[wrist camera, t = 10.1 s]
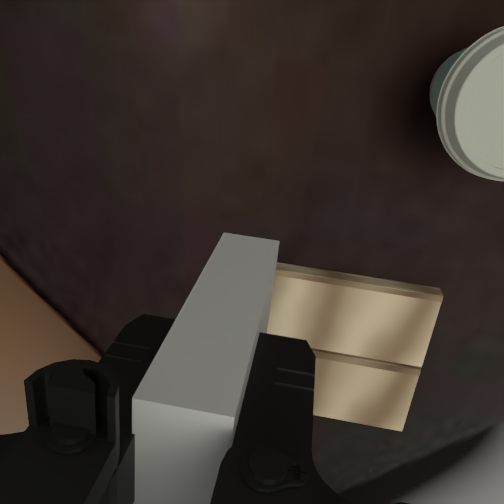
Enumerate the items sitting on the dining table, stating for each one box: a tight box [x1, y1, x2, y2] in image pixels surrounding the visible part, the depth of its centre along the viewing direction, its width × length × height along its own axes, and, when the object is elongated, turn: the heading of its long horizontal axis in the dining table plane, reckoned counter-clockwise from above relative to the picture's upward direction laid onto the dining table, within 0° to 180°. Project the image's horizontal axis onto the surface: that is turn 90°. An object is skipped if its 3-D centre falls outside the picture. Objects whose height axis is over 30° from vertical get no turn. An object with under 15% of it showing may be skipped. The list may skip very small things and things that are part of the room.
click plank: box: [267, 262, 443, 367], centre depth 44 cm, size 20×8×2 cm, turn 84°
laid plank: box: [311, 348, 421, 431], centre depth 48 cm, size 20×8×2 cm, turn 84°
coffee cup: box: [429, 26, 504, 181], centre depth 31 cm, size 8×8×12 cm
